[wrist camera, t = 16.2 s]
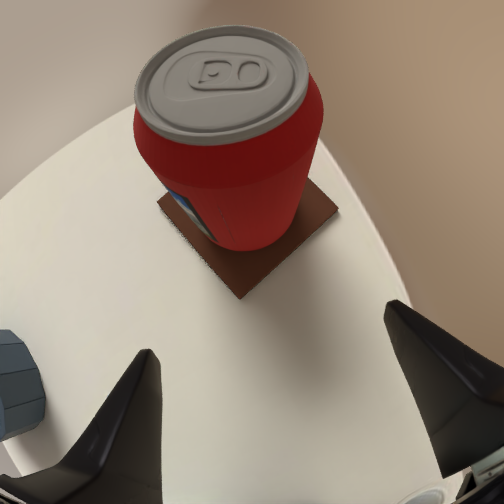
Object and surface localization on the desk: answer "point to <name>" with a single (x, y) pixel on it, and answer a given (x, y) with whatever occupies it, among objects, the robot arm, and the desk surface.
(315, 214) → the mat
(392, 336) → the robot arm
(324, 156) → the desk surface
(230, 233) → the beverage can
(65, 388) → the desk surface
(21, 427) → the can holder
